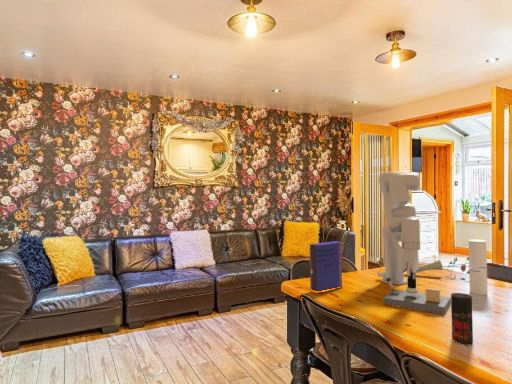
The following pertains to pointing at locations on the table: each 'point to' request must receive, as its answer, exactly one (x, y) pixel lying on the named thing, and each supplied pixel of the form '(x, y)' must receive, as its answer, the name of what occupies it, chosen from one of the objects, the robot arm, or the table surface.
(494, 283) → the table surface
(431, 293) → the paddle switch
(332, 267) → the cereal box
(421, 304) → the control panel
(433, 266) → the flower vase
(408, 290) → the push button
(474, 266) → the cylindrical container
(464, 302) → the deodorant
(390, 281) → the toggle lever
